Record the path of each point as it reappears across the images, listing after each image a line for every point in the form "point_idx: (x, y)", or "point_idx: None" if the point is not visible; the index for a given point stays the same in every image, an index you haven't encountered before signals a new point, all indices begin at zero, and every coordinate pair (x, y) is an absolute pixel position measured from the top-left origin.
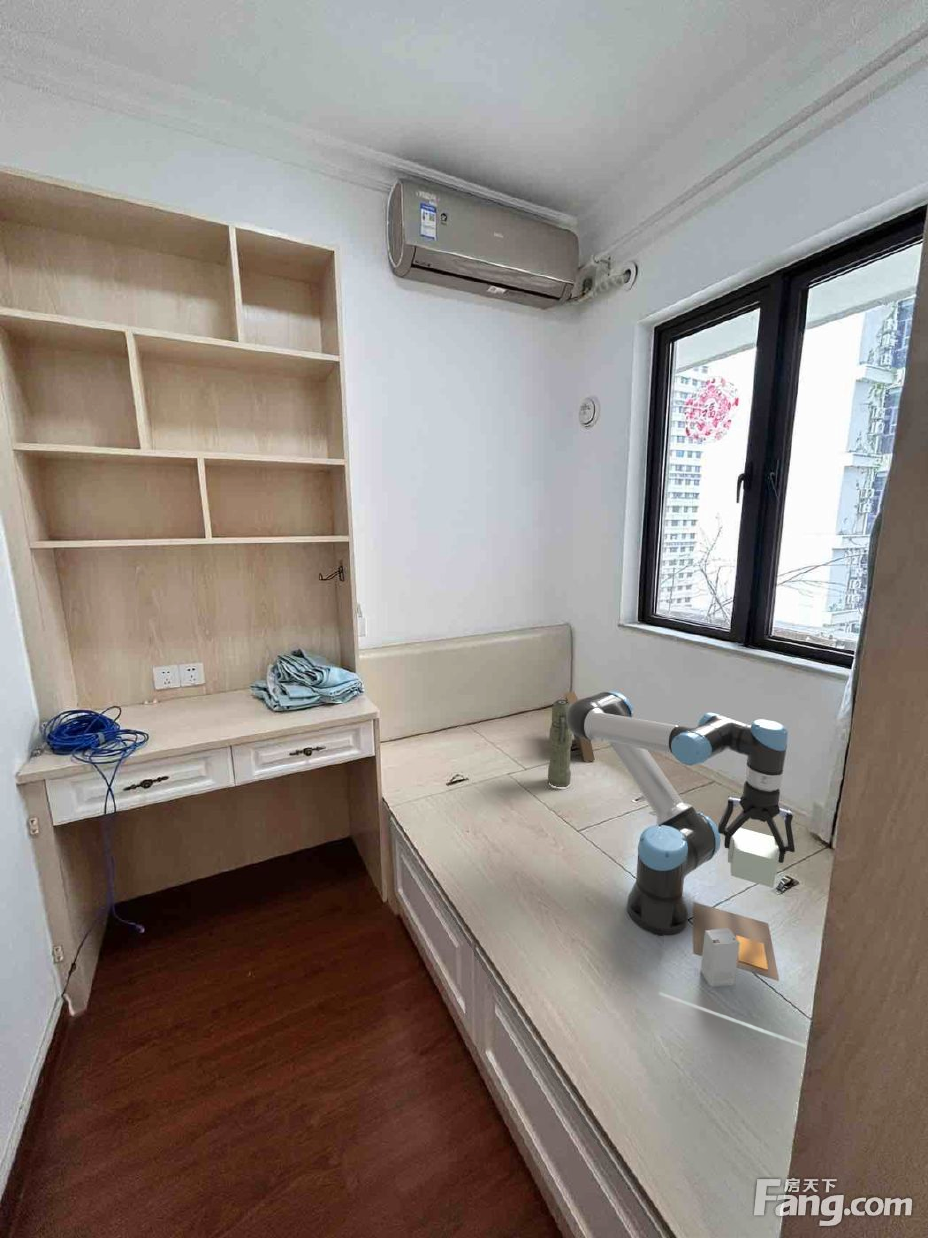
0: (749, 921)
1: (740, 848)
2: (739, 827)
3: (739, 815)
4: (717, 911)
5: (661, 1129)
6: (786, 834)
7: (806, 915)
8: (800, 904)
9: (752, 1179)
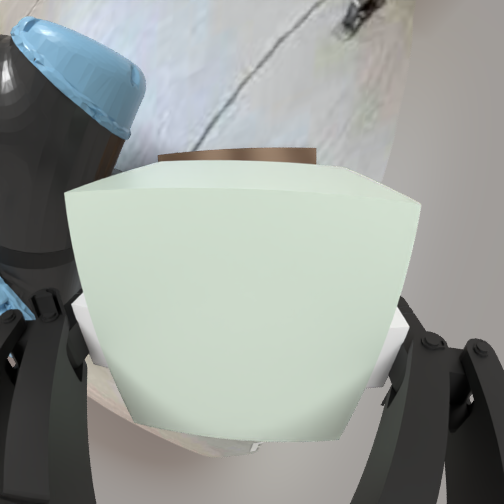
0: (276, 160)
1: (158, 420)
2: (86, 456)
3: (14, 478)
4: (208, 159)
5: (190, 436)
6: (468, 463)
7: (394, 90)
8: (387, 59)
9: (250, 443)
